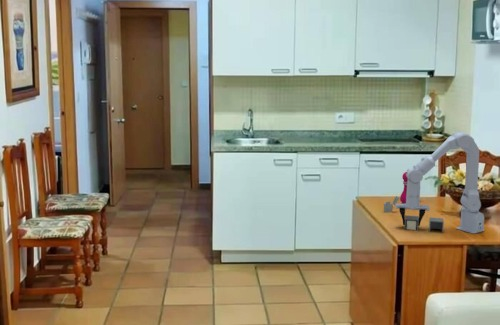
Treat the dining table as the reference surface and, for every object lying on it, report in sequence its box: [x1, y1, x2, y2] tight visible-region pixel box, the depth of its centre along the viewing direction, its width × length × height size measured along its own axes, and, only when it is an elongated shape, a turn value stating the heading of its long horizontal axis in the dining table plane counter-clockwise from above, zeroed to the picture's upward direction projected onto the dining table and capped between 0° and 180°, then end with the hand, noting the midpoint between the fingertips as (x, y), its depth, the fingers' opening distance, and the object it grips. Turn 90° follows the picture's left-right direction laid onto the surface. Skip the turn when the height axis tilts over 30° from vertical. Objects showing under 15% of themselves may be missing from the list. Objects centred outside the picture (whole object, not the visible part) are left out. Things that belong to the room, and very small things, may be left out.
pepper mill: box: [399, 168, 410, 204], centre depth 301 cm, size 7×7×20 cm
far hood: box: [403, 214, 419, 231], centre depth 266 cm, size 6×6×5 cm
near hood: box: [428, 217, 445, 234], centre depth 263 cm, size 6×6×5 cm
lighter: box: [383, 196, 400, 213], centre depth 293 cm, size 7×2×8 cm, turn 86°
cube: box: [406, 220, 417, 231], centre depth 266 cm, size 4×4×4 cm
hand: (411, 225), depth 266 cm, fingers closed on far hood, 6 cm apart
